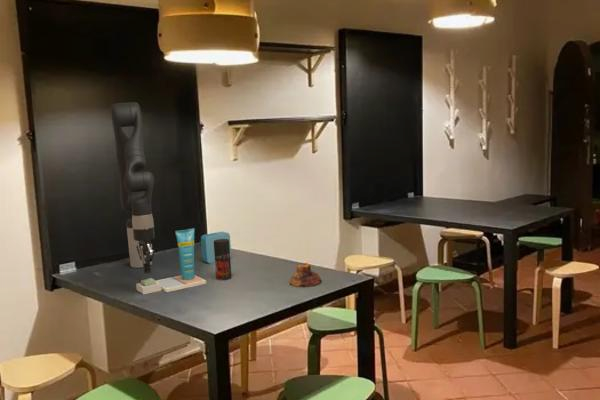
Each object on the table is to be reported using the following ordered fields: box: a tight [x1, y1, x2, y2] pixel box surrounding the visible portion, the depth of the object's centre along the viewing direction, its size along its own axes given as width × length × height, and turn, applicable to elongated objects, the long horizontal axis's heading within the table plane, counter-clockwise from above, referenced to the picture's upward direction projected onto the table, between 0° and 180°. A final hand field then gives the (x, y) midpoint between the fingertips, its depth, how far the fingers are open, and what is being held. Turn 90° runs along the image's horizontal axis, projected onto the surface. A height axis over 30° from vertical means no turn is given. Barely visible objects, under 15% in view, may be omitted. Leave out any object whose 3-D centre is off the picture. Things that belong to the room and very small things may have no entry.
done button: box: [140, 277, 156, 286], centre depth 235 cm, size 4×4×2 cm
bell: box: [288, 262, 322, 288], centre depth 234 cm, size 12×12×7 cm
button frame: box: [135, 280, 163, 295], centre depth 235 cm, size 7×7×2 cm
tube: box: [175, 227, 196, 280], centre depth 242 cm, size 7×5×19 cm, turn 123°
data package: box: [200, 231, 232, 264], centre depth 275 cm, size 12×4×12 cm, turn 127°
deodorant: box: [214, 239, 233, 281], centre depth 245 cm, size 6×6×15 cm
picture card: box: [156, 275, 207, 293], centre depth 242 cm, size 14×16×1 cm
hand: (147, 272), depth 234 cm, fingers closed
